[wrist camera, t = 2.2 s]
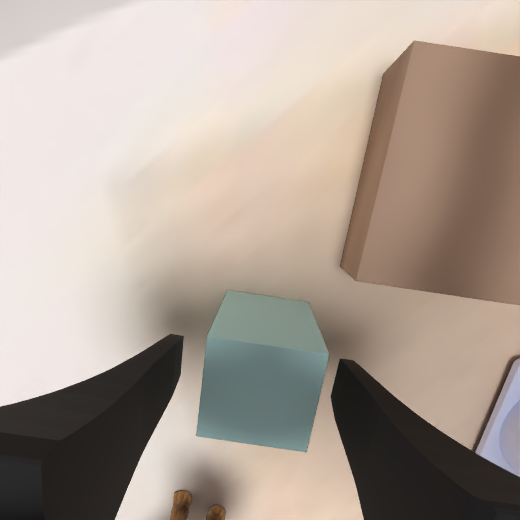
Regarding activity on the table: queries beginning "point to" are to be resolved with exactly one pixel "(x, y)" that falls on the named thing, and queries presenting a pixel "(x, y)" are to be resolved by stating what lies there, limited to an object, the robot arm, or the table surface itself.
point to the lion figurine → (181, 508)
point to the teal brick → (262, 372)
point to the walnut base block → (442, 177)
